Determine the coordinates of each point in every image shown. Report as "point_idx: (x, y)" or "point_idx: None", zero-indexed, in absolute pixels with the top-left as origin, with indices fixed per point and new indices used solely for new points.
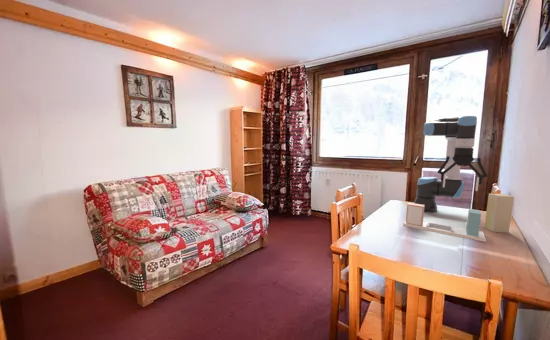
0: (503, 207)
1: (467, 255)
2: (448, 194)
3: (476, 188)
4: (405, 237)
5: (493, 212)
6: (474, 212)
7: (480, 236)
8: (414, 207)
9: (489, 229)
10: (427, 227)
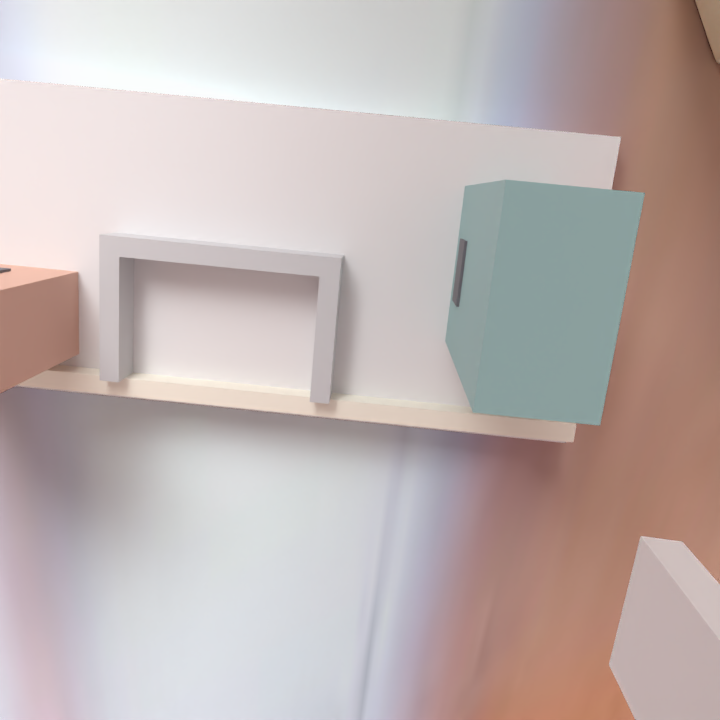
0: None
1: (391, 705)
2: None
3: (644, 717)
4: (6, 591)
5: None
6: (536, 385)
7: None
8: None
9: (714, 4)
10: (118, 386)
